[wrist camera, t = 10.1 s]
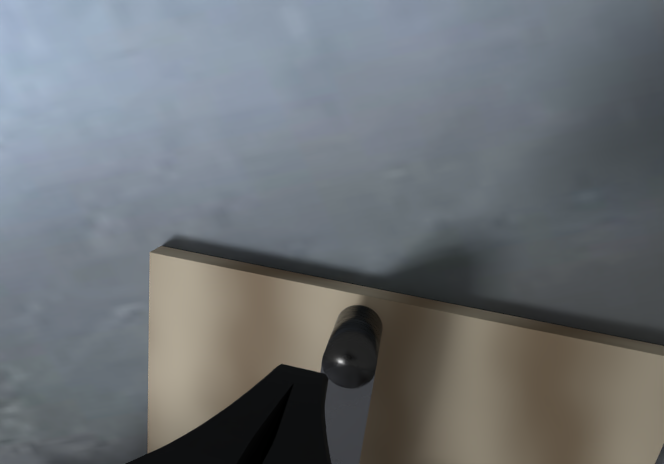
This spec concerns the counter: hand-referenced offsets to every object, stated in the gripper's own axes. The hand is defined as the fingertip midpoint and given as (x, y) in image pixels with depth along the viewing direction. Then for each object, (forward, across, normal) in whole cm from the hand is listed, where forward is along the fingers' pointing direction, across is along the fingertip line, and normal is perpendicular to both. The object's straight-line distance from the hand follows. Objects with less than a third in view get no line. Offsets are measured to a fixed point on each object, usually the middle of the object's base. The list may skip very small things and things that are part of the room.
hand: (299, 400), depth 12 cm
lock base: (+9, -3, +12) cm, 16 cm away
